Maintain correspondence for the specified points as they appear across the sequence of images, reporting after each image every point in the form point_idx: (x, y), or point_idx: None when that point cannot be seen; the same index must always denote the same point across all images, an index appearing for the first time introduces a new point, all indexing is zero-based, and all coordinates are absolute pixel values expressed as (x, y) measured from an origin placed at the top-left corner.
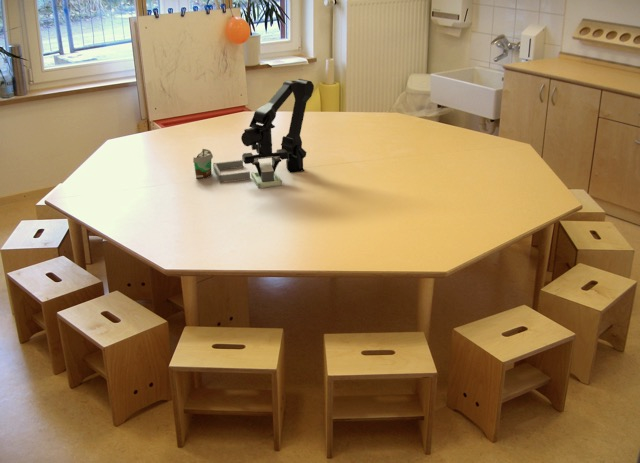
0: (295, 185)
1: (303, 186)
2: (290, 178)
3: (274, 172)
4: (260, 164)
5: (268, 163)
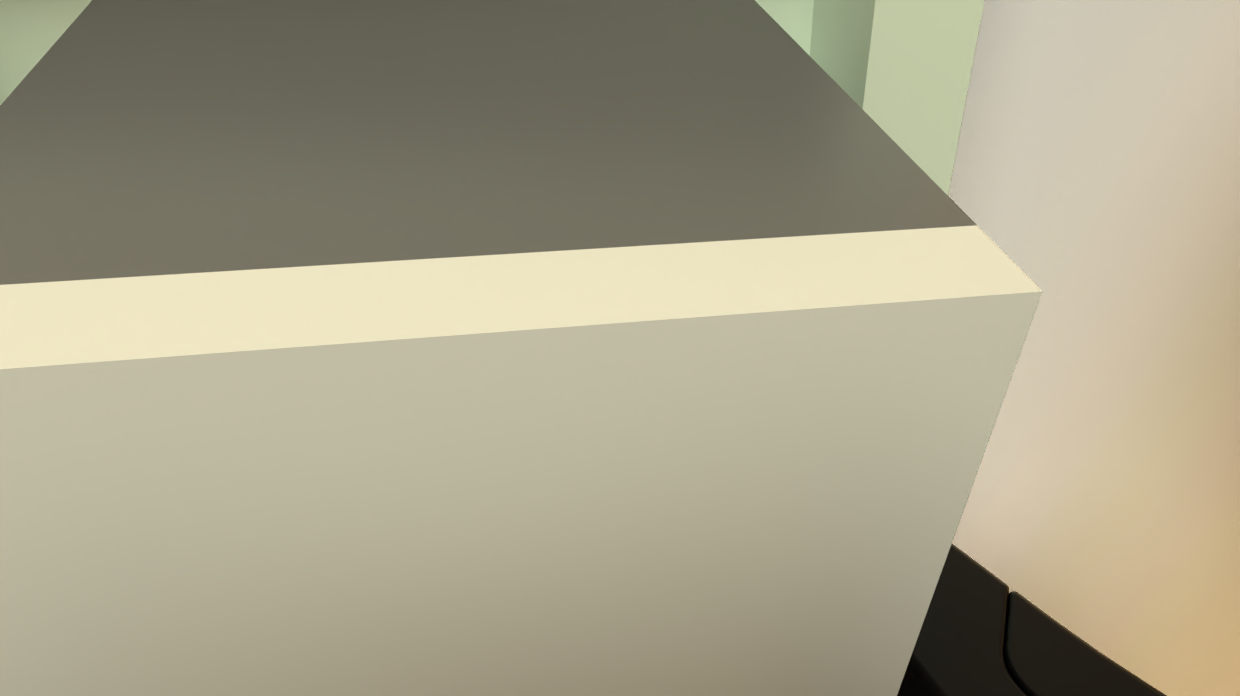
0: (1062, 617)
1: (1164, 657)
2: (1212, 237)
3: (907, 52)
4: (66, 621)
5: (804, 493)
